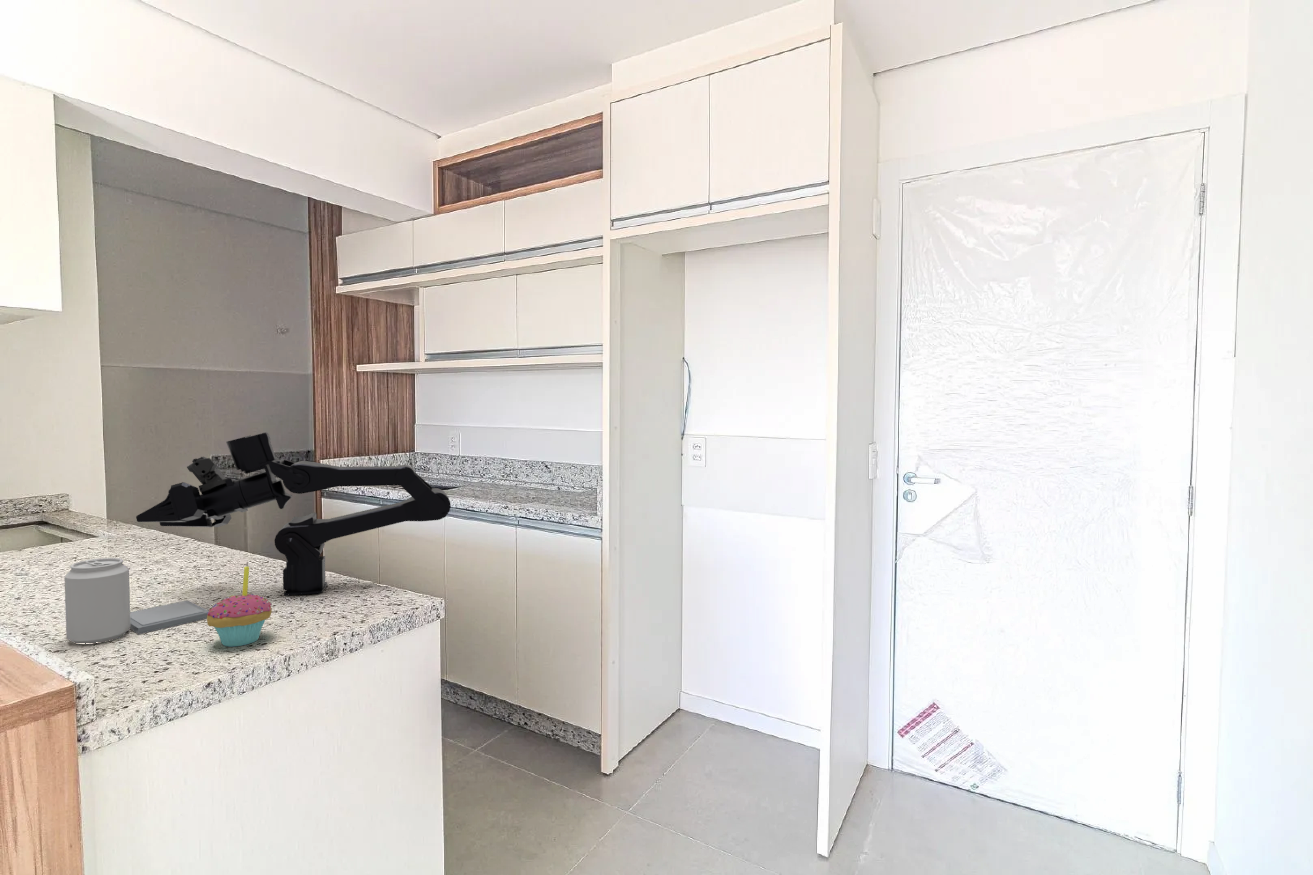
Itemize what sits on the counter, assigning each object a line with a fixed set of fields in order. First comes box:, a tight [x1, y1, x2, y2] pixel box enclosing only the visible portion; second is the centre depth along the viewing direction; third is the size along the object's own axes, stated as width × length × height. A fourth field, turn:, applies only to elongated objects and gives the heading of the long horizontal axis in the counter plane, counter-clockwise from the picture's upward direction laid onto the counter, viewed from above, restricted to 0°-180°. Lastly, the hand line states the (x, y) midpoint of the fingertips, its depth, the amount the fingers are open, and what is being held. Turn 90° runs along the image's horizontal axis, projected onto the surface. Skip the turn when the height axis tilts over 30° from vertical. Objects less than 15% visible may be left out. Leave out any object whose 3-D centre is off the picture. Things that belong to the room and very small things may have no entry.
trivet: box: [129, 599, 210, 635], centre depth 107 cm, size 10×10×1 cm
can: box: [64, 557, 131, 644], centre depth 99 cm, size 8×8×12 cm
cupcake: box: [206, 560, 273, 648], centre depth 98 cm, size 9×8×12 cm
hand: (148, 521), depth 114 cm, fingers open, 9 cm apart
